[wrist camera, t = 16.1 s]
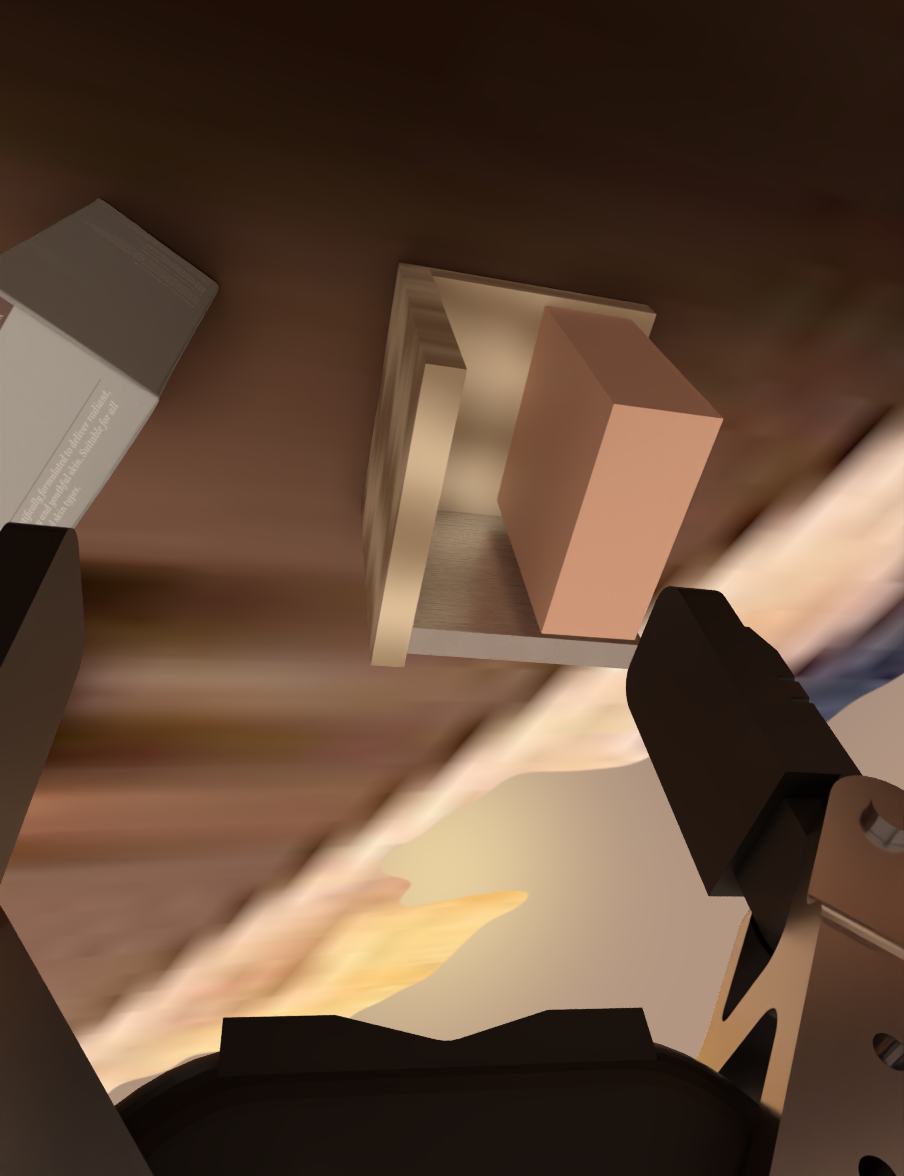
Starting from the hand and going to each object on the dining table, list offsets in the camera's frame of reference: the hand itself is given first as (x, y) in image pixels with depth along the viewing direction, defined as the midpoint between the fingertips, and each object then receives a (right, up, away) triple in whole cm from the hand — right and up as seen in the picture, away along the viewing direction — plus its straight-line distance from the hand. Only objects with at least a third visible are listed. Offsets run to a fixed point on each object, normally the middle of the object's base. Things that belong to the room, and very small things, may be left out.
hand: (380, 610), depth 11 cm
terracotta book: (+7, +10, +32) cm, 34 cm away
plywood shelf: (+3, +10, +33) cm, 35 cm away
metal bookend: (+3, +4, +36) cm, 36 cm away
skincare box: (-15, +14, +28) cm, 35 cm away
